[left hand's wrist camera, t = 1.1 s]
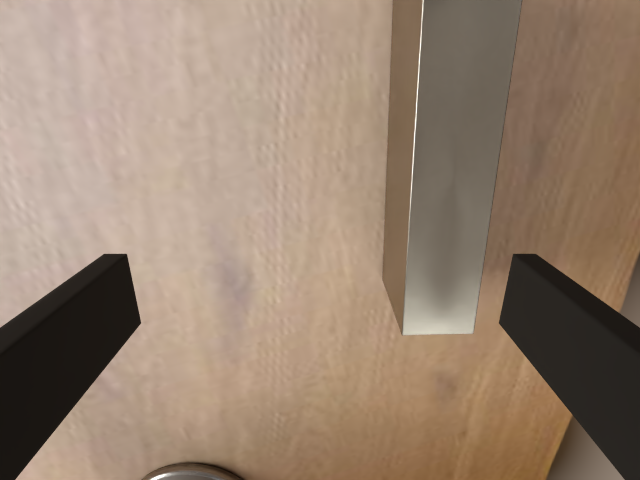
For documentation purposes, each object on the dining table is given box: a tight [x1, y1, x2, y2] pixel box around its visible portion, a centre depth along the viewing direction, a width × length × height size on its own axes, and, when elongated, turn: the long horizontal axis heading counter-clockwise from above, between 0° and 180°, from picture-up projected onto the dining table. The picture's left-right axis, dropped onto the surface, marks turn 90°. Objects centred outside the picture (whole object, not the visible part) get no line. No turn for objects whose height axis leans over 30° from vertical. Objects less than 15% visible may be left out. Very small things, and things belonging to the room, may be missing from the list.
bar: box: [383, 0, 522, 335], centre depth 25 cm, size 22×5×8 cm, turn 2°
